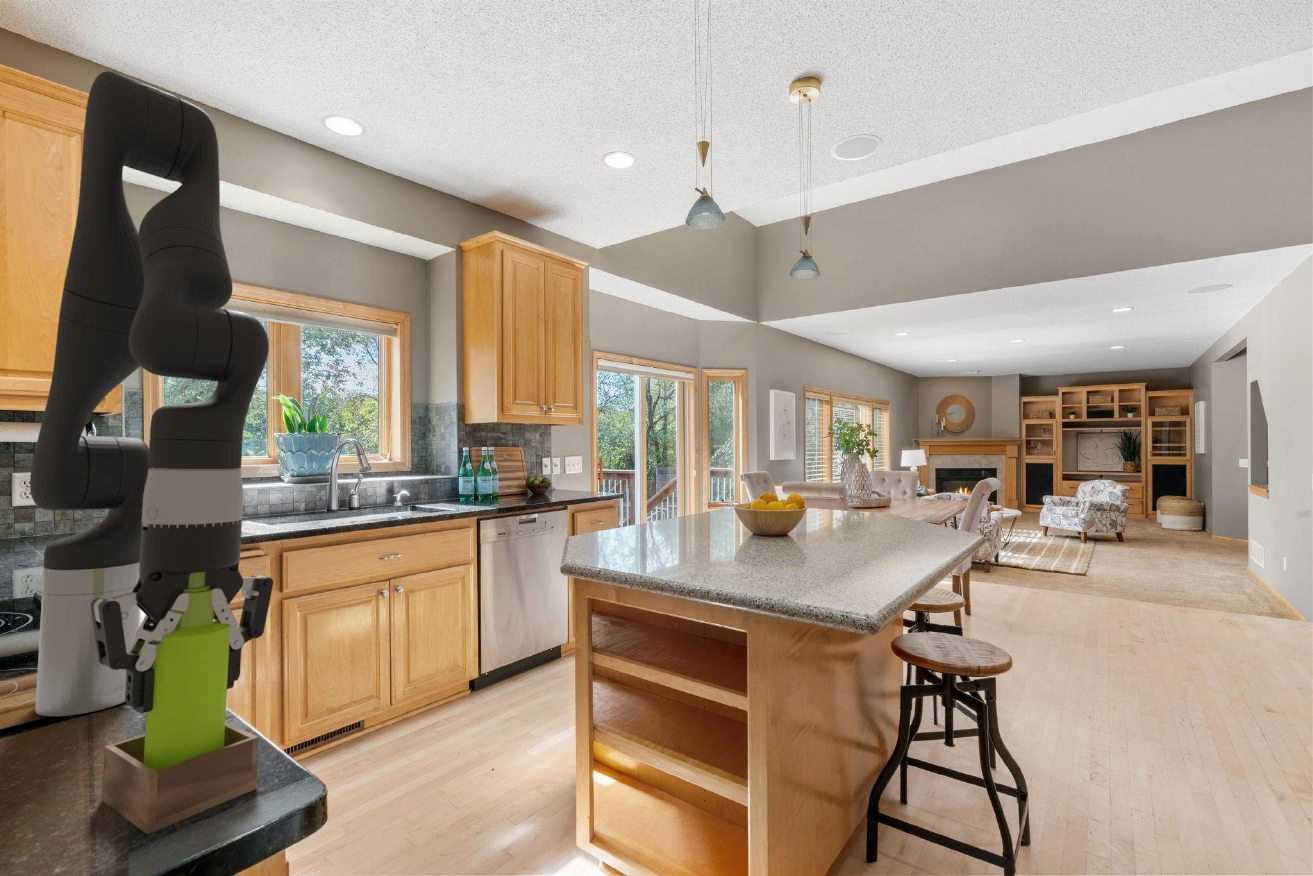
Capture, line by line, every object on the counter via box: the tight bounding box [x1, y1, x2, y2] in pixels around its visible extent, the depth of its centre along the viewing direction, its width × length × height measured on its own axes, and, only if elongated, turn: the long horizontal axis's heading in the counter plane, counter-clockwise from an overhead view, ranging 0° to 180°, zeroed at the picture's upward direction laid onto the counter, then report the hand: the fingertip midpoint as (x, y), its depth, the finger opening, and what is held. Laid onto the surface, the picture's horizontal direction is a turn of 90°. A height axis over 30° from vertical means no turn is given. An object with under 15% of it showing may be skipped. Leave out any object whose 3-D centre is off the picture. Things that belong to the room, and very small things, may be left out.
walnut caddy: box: [101, 721, 260, 835], centre depth 57 cm, size 9×8×5 cm
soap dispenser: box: [143, 572, 230, 771], centre depth 57 cm, size 6×7×20 cm
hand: (185, 697), depth 57 cm, fingers closed on soap dispenser, 6 cm apart
